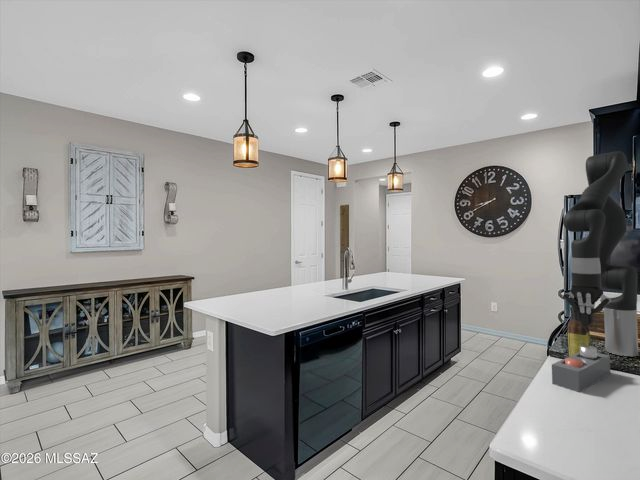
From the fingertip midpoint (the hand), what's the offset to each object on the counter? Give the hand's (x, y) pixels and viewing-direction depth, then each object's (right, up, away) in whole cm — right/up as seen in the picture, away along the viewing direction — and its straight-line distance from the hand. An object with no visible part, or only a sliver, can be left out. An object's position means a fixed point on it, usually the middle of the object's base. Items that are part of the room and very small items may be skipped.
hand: (587, 324), depth 108 cm
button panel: (-4, -17, -3) cm, 17 cm away
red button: (-8, -15, -5) cm, 18 cm away
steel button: (0, -12, 0) cm, 12 cm away
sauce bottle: (+6, -16, +11) cm, 20 cm away
